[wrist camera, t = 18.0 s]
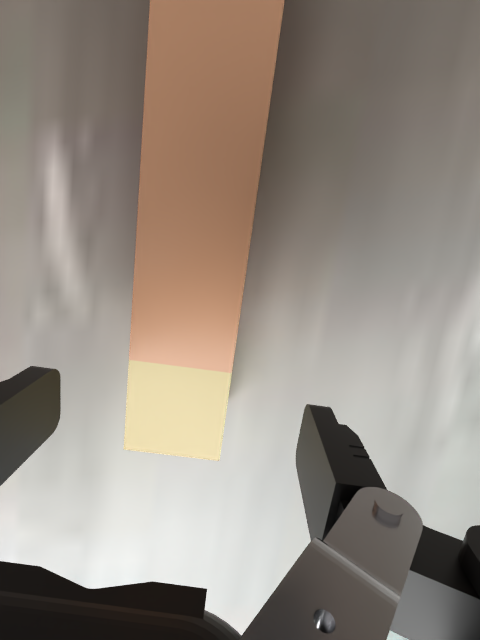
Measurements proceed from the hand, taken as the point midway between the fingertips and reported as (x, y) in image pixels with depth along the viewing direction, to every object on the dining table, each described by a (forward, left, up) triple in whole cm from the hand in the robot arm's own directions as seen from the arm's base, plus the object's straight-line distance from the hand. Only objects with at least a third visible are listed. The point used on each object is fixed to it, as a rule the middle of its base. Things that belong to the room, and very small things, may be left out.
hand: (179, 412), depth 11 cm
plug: (0, -7, -7) cm, 10 cm away
